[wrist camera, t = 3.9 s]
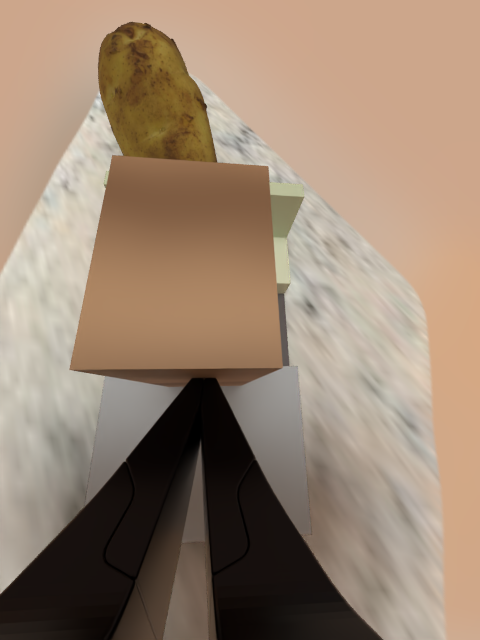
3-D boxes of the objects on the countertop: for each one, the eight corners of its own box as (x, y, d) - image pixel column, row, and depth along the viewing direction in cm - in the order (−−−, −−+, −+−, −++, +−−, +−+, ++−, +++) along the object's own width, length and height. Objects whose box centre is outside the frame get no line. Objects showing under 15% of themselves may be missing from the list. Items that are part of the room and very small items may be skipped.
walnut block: (241, 385, 15) (282, 367, 5) (167, 386, 14) (69, 369, 5) (239, 297, 17) (268, 166, 7) (174, 296, 16) (112, 155, 7)
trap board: (299, 516, 15) (351, 593, 9) (96, 528, 14) (9, 624, 8) (279, 242, 21) (302, 184, 15) (138, 235, 20) (106, 170, 14)
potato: (123, 235, 20) (63, 133, 12) (124, 126, 23) (79, -4, 16) (222, 229, 21) (225, 133, 13) (208, 126, 24) (203, 4, 17)
